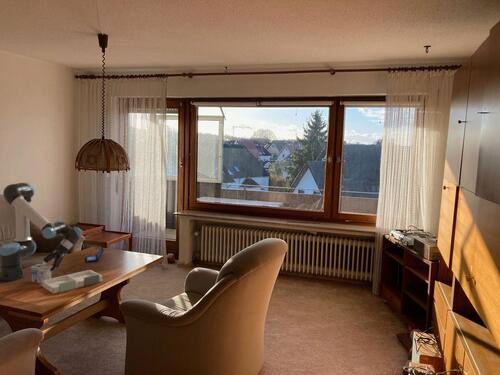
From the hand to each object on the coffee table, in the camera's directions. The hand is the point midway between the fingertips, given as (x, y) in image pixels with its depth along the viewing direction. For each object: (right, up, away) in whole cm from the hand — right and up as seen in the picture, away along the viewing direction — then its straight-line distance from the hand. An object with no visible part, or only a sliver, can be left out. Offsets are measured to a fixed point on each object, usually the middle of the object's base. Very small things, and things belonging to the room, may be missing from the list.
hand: (42, 272), depth 264 cm
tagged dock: (+22, -7, -2) cm, 23 cm away
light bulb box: (-1, -6, +1) cm, 6 cm away
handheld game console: (+14, -2, +53) cm, 55 cm away
